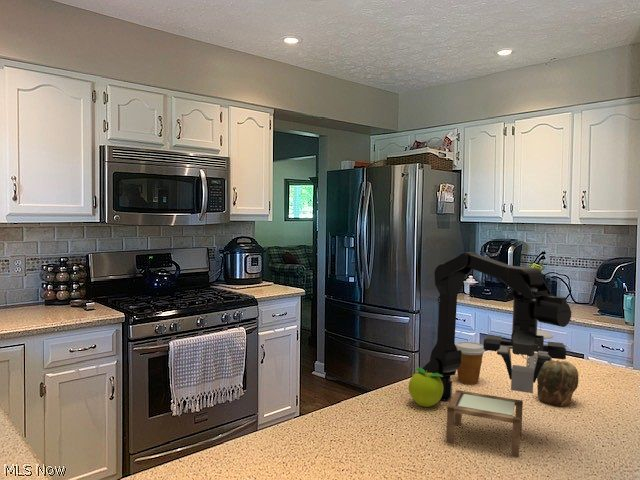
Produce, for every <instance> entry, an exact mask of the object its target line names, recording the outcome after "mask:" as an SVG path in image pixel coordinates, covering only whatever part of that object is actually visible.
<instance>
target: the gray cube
mask: <svg viewBox="0 0 640 480" xmlns="http://www.w3.org/2000/svg"><path fill="white" fill-rule="evenodd" d="M526 366H527V365H526ZM526 366H525V365H524V366H523V365H516V364H512V377H511V379H510V380H511V381H510V391H515V392H522V393H528V394H534V383H533V379H534V367H526Z"/></svg>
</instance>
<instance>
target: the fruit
mask: <svg viewBox="0 0 640 480" xmlns="http://www.w3.org/2000/svg"><path fill="white" fill-rule="evenodd" d="M422 368H423V367H415V368H414V370H416V371H418V372H415V373H414V374H413V375H412V376H411V378H410V379H409V382H408V392H409V394H410V396H411V398H412V399H413V400H414V401H415V403H416V404H417V405H419V407H420V406H421V407H425V408H431V407H432V406H434V405H436V404H437V403H439V401H440V399H441V397H442V395H443V383H442V381H441V379H440V378H439V377H438V376H440V377H443V376H442V375H441V374H439V373H434V374H433V373H427V370H426V372H425V370H424V369H422Z"/></svg>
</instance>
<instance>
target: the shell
mask: <svg viewBox="0 0 640 480" xmlns="http://www.w3.org/2000/svg"><path fill="white" fill-rule="evenodd" d="M536 382H537V386H536V387H537V390H536V391H537V392H536V393H537V397H538V399H539V401H540V402H541V403H544V404H547V405H551V406H556V407H561V406H568V405H570V404H571V402H572V398H573V394H574V393H575V391H576V390H577V389H578V387H579V382H580V381H579V371H578V369H577V367H576V366H575V365H574V364H572V363H571V362H569V361H566V360H562V361H560V359H556V360H553V359H552V360H551V361H547V362H546V363H544V364H543V366H542V367H541V369H540V372H539V374H538V376H537V379H536Z"/></svg>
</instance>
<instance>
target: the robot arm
mask: <svg viewBox="0 0 640 480" xmlns="http://www.w3.org/2000/svg"><path fill="white" fill-rule="evenodd" d="M473 270H475V271H478V272H480V273H481V274H485V275H488V276H490V277H493V278H495V279H498V280H500V281H501V282H503V283H504V285H506V286H507V287H508V288H510V289H512V290H511V291H510V292H509V293H508V294H506V295H505V298H506V299H510V300H513V301H512V302H513V305H512V324H511V325H512V328H511V330H512V331H511V336H510V337H511V339H510V340H505V339H504V340H503V339H502V335H495V334H493V335H492V334H487V335H485V336H484V339H483V349H484V350H485V351H488V352H489V351H490V352H496V354H497V355H498V356H501V357H502V360H503V362H504V363H505V367H506V371H507V374H508V378H509V380H511V377H512V366H513V364H512V354H513V355H517V356H518V355H519V356H521V355H523V356H526V357H527V356H533V355H534V353H537V358H536V364H535V369H534V379H533V384H535V383H536V382H537V376H538V374H539V372H540V369H541V367H542V366H543V364H544V363H545V362H546V361H551V358H552V359H556V360H562V361H565V360H566V359H567V348H566V345H565V344H564V342H557V341H556V342H555V341H547V344H544V343H545V342H544V340H545V339H544V336H540V335H537V330H538V322H539V323H541V324H547V325H552V326H557V327H561V328H564V327H566V326H568V324H569V323H570V321H571V318H572V310H571V307H570V305H569V304H568V303H567V297H565V296H554V295H553V293H552V291H551V290H550V287H548V284H547V283H546V281H545V279H544V275H543V274H542V271H541V270H539V269H538V268H535V267H529V266H528V267H527V266H516V265H512V264H507V263H504V262H502V261H498V260H497V259H493V258H490V257H486V256H484V255H480V254H479V253H477V252H475V251H473V252H472V251H470V252H469V251H467V252H462V253H461V254H459V255H458V256H456V257H455V258H452V259H450V260H448V261H446V262H444V263H443V264H439V265H438V266H436V267H435V268H434V285H435V288H436V289H437V291H438V293H439V301H438V303H439V304H438V321H437V322H438V323H437V335H436V336H437V338H436V340H437V341H436V343H435V345H434V347H433V348H432V350H431V353H430V358H429V361H428V362H427V363H426V364H425V365H424V366H423V367H421V368H422V369H424V370H425V372H426V370H427V373H433V374H434V373H439V374H441V375H442V376H443V377H440V376H438V377H439V378H440V379H441V381H442V383H443V395H442V397H441V399H440V400H441V401H446V402H447V401H449V400H450V398H452V396H453V380H451V376H456V373H457V369H459V366H460V364H462V363H461V354H462V352H461V350H458V349H457V347H456V342H455V341H456V324H457V322H456V321H457V307H458V306H457V305H458V295H459V293H460V292H461V289H462V288H463V285H464V281H465V277H467V275H469V274H471V272H472V271H473ZM511 350H512V354H511ZM440 400H439V401H440Z"/></svg>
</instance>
